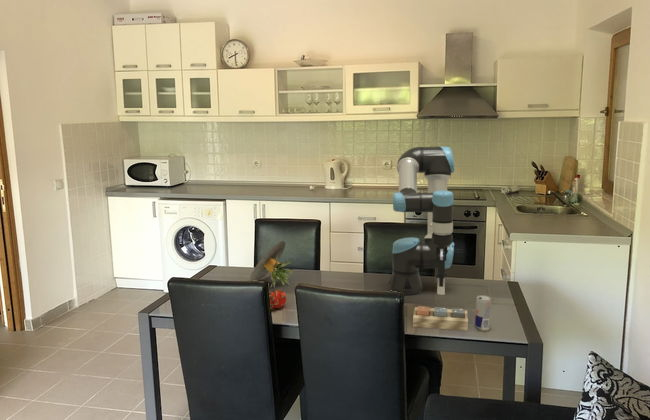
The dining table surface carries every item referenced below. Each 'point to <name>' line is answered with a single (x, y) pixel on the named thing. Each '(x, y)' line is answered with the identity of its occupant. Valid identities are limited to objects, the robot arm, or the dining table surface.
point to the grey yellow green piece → (272, 265)
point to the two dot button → (457, 313)
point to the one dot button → (423, 310)
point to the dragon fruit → (277, 299)
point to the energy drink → (483, 313)
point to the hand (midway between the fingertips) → (440, 293)
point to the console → (440, 320)
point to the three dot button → (440, 312)
